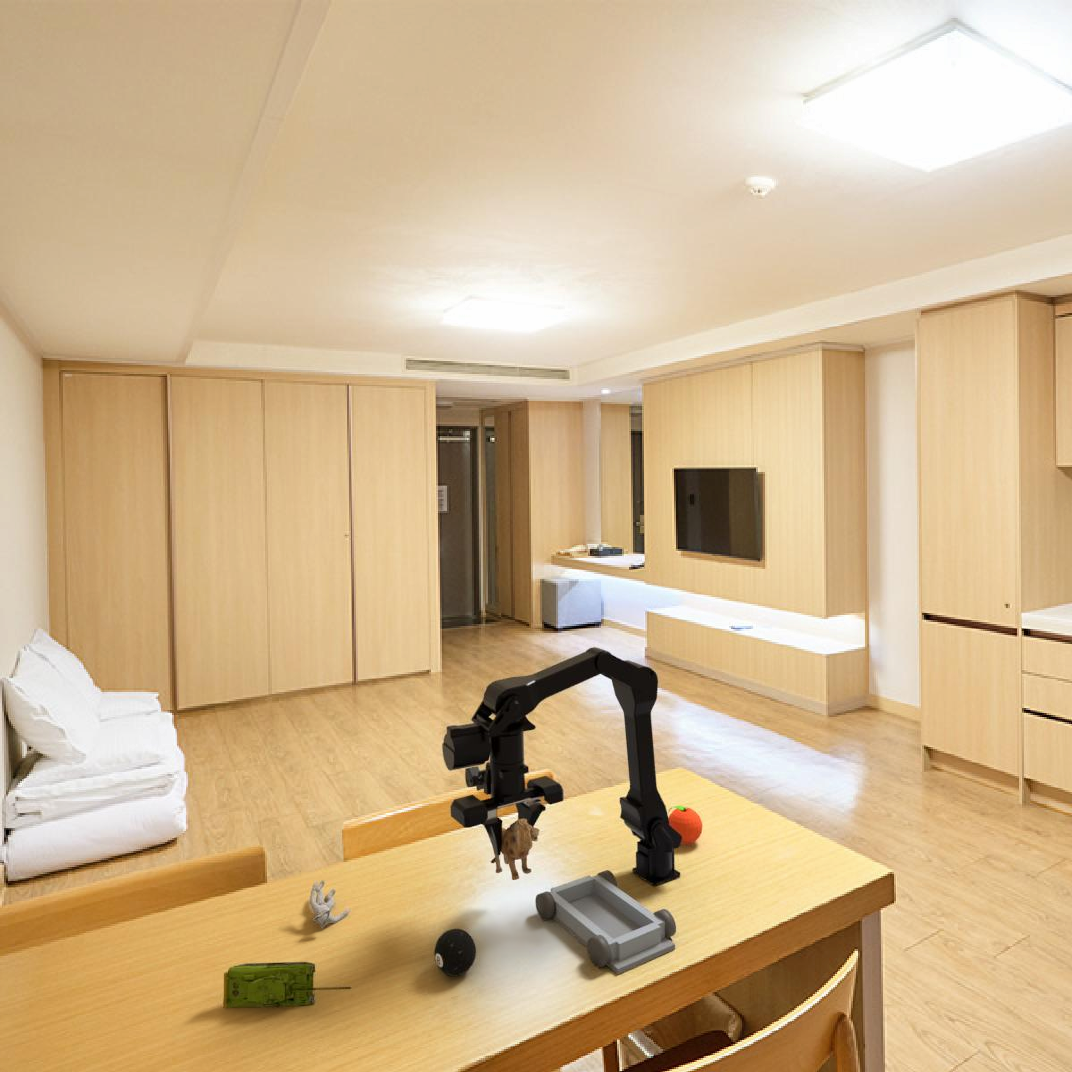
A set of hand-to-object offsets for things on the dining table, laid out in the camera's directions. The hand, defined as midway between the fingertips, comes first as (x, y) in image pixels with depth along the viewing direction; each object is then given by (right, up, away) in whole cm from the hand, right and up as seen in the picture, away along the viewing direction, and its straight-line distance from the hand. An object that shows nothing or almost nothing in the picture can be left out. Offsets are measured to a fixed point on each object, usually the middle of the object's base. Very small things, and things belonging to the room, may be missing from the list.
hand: (509, 850), depth 125 cm
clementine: (+34, -9, +26) cm, 44 cm away
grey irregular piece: (-31, -12, +3) cm, 34 cm away
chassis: (+15, -11, -3) cm, 19 cm away
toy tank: (-30, -14, -21) cm, 39 cm away
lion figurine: (+1, -4, -1) cm, 4 cm away
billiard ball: (-8, -13, -13) cm, 20 cm away
